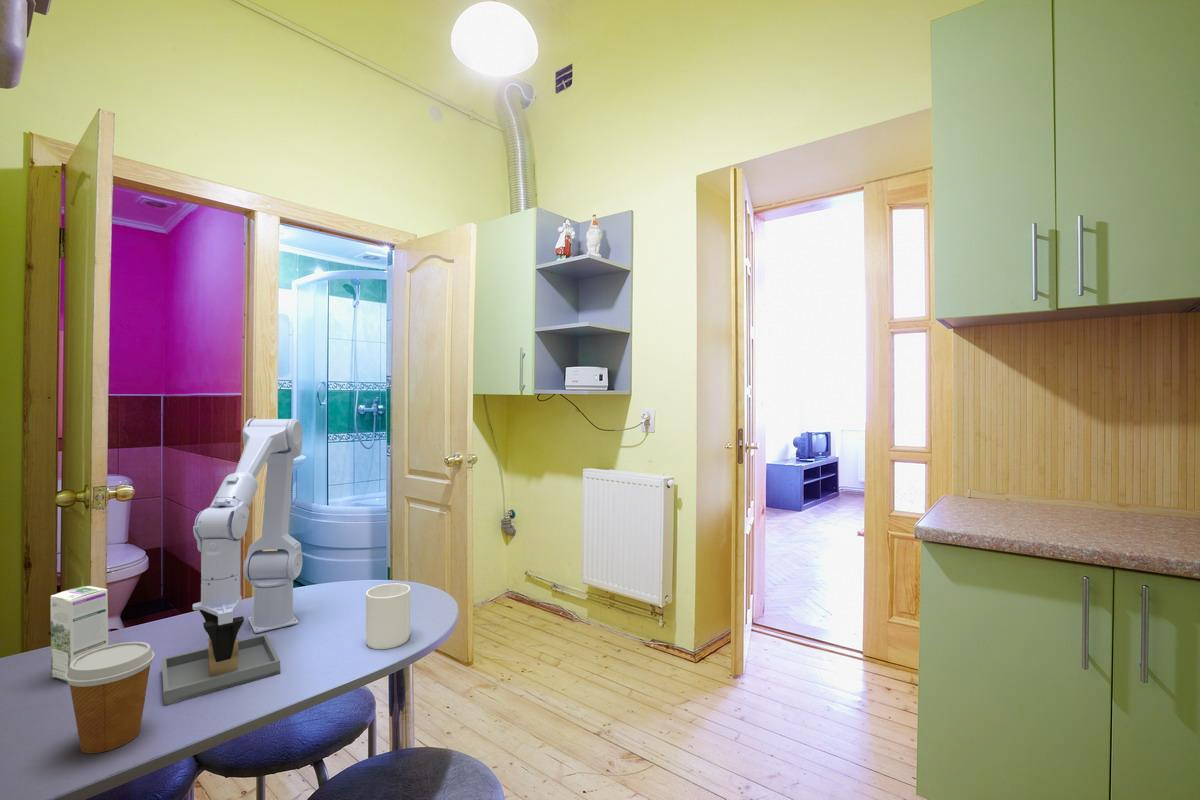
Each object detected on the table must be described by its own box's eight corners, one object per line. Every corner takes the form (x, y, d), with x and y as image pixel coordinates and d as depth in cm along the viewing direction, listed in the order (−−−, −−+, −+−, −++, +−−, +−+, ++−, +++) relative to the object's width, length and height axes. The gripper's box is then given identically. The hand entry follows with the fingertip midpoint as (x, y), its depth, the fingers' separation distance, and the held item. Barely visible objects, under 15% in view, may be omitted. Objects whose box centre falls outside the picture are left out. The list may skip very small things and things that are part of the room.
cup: (375, 654, 103) (376, 601, 103) (351, 634, 112) (352, 585, 112) (417, 640, 109) (417, 590, 109) (391, 623, 118) (391, 576, 118)
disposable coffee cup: (102, 721, 82) (103, 641, 82) (170, 718, 82) (170, 639, 82) (43, 763, 72) (43, 673, 72) (120, 760, 73) (120, 670, 73)
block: (208, 667, 97) (208, 639, 97) (235, 660, 99) (235, 633, 99) (210, 676, 94) (210, 647, 94) (238, 669, 96) (238, 640, 96)
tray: (161, 671, 96) (161, 658, 96) (266, 645, 107) (266, 634, 107) (164, 705, 86) (164, 691, 86) (280, 673, 96) (280, 660, 96)
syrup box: (110, 668, 97) (110, 587, 97) (69, 684, 92) (69, 598, 92) (90, 663, 99) (90, 583, 99) (48, 678, 94) (48, 594, 94)
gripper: (190, 569, 99) (189, 643, 99) (196, 591, 88) (195, 675, 88) (236, 562, 104) (236, 633, 104) (247, 582, 93) (247, 661, 93)
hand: (220, 651), depth 96 cm, fingers open, 7 cm apart
